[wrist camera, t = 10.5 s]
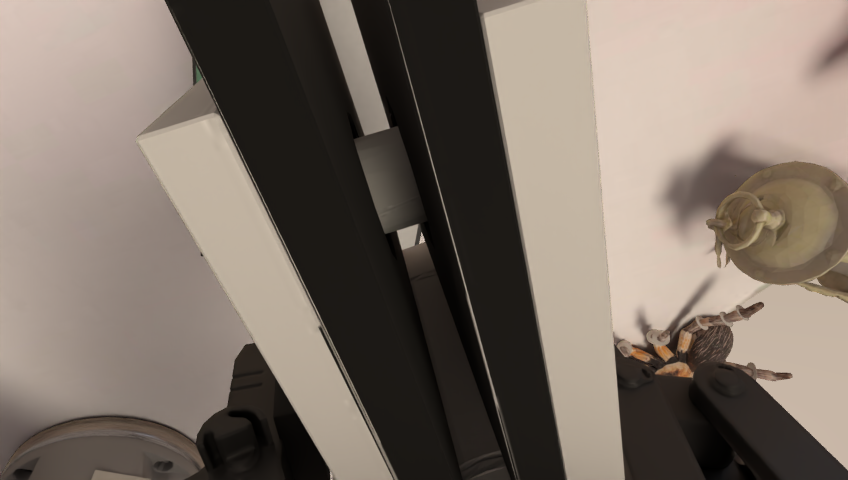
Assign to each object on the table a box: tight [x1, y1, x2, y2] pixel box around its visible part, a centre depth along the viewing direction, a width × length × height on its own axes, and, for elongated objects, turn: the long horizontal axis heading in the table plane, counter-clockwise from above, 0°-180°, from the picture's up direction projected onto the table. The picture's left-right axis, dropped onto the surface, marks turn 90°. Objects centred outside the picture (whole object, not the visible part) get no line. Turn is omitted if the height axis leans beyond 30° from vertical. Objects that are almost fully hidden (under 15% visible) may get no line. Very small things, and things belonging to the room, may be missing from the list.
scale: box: [192, 0, 421, 256], centre depth 29 cm, size 14×18×4 cm
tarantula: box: [617, 302, 792, 381], centre depth 48 cm, size 16×17×5 cm
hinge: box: [136, 0, 625, 480], centre depth 11 cm, size 14×5×10 cm, turn 2°
